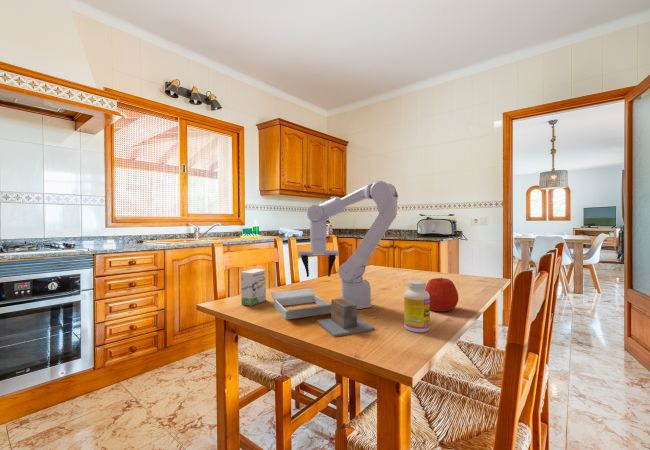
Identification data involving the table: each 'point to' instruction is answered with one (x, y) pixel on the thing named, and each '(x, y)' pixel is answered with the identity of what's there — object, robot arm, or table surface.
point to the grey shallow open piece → (300, 298)
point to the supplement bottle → (417, 307)
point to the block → (344, 313)
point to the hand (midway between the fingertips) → (318, 276)
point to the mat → (339, 331)
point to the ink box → (253, 286)
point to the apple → (442, 294)
